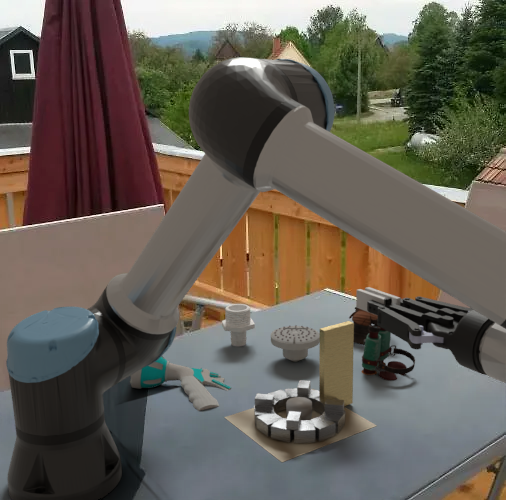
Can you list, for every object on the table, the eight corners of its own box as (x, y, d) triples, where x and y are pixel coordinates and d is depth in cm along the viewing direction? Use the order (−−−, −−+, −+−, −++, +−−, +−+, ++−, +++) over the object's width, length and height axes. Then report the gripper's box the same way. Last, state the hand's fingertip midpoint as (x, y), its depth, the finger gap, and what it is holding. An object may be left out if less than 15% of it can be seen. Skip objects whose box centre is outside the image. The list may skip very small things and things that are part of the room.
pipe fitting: (216, 344, 140) (214, 308, 138) (241, 335, 144) (240, 300, 143) (235, 352, 135) (234, 315, 133) (261, 343, 140) (260, 307, 138)
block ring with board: (289, 452, 95) (288, 361, 92) (237, 414, 106) (235, 332, 103) (379, 418, 104) (381, 334, 101) (323, 386, 116) (323, 310, 112)
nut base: (282, 469, 93) (281, 441, 92) (224, 424, 106) (223, 398, 105) (376, 432, 103) (377, 406, 102) (313, 394, 116) (313, 371, 115)
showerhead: (268, 339, 122) (272, 320, 132) (269, 375, 124) (272, 354, 134) (319, 340, 121) (319, 321, 131) (319, 376, 123) (319, 355, 133)
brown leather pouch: (334, 340, 142) (343, 303, 144) (367, 351, 146) (374, 315, 148) (372, 343, 132) (381, 303, 133) (406, 355, 136) (414, 316, 138)
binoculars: (411, 340, 114) (357, 325, 119) (403, 395, 117) (351, 378, 122) (427, 324, 121) (375, 310, 126) (419, 376, 124) (369, 361, 129)
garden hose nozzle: (254, 386, 112) (212, 335, 129) (153, 398, 104) (123, 343, 121) (249, 423, 114) (208, 368, 131) (150, 438, 106) (121, 378, 124)
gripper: (455, 390, 76) (325, 331, 95) (531, 361, 83) (396, 312, 102) (459, 328, 74) (325, 280, 93) (536, 304, 81) (397, 265, 101)
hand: (362, 297), depth 98 cm, fingers closed
